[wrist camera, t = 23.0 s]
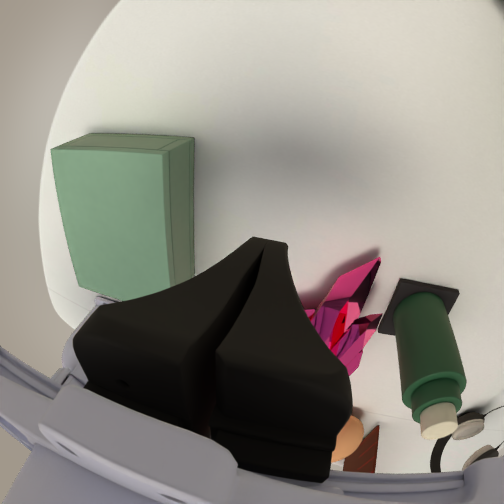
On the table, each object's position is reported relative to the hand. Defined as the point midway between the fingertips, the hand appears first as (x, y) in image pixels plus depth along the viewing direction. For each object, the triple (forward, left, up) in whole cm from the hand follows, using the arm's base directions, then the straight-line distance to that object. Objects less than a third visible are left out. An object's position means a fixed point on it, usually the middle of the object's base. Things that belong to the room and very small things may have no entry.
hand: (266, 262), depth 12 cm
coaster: (+12, -9, -10) cm, 18 cm away
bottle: (+12, -9, -10) cm, 18 cm away
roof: (+20, -39, -4) cm, 44 cm away
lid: (-12, -4, -7) cm, 14 cm away
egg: (+12, -25, -8) cm, 29 cm away
